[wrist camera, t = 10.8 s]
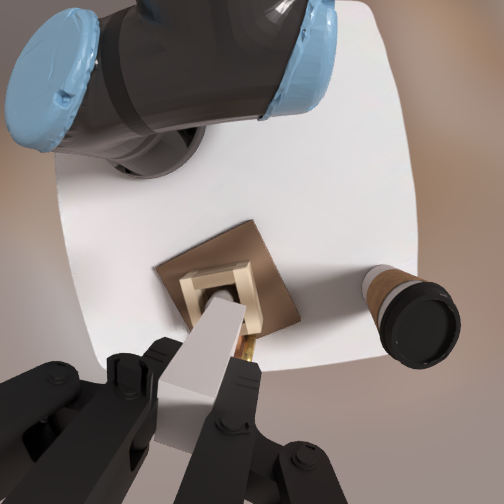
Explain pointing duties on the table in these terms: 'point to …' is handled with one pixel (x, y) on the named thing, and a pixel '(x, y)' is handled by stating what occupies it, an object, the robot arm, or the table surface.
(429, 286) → the coffee cup
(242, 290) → the hollow square frame
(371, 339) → the table surface
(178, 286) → the base
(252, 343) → the dowel
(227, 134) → the table surface
